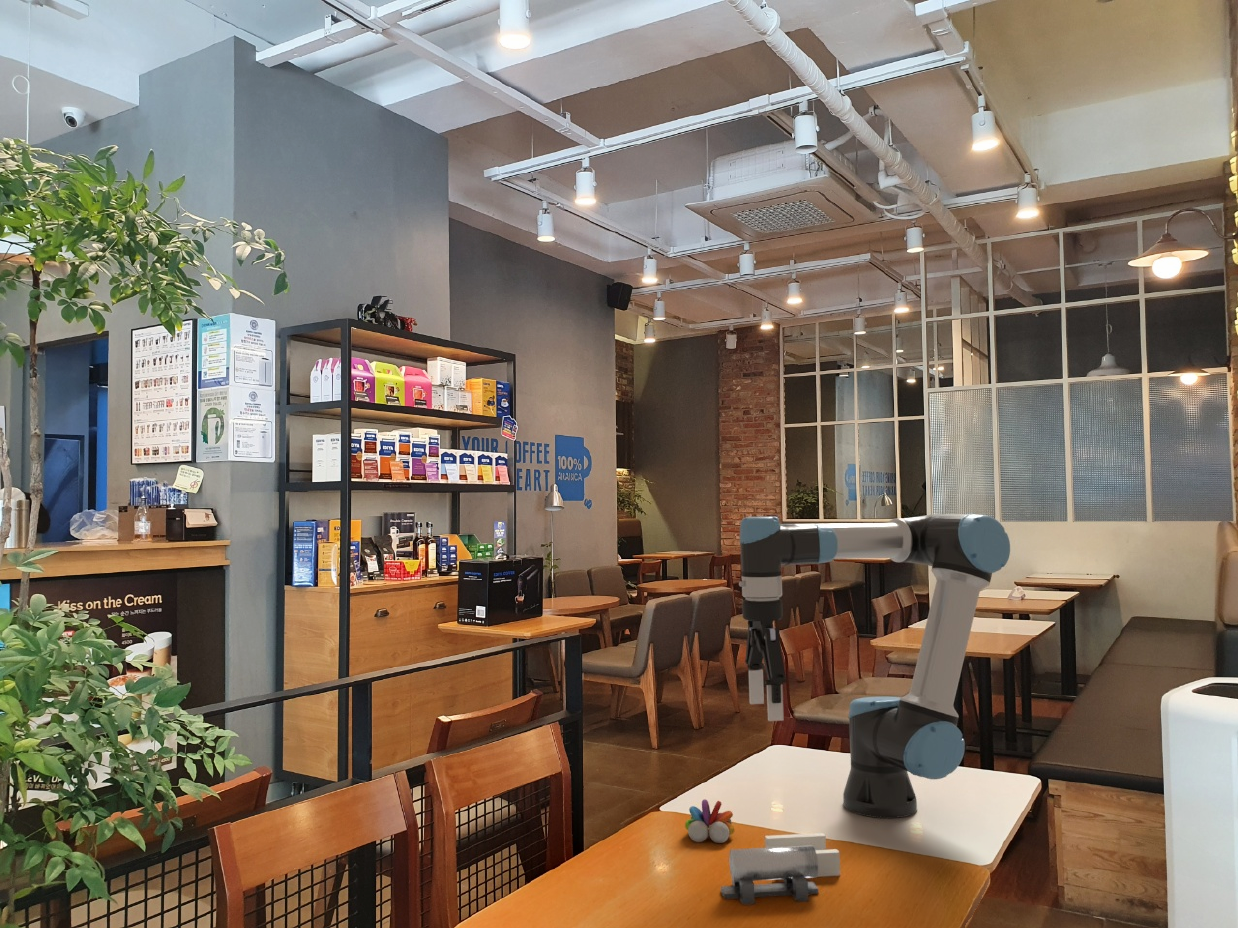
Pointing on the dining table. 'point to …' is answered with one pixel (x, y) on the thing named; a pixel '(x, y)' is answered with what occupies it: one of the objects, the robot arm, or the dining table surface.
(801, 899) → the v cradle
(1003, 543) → the robot arm
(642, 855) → the dining table surface
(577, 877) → the dining table surface
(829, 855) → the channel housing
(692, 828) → the rainbow petal fan toy
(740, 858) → the axle
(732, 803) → the dining table surface
